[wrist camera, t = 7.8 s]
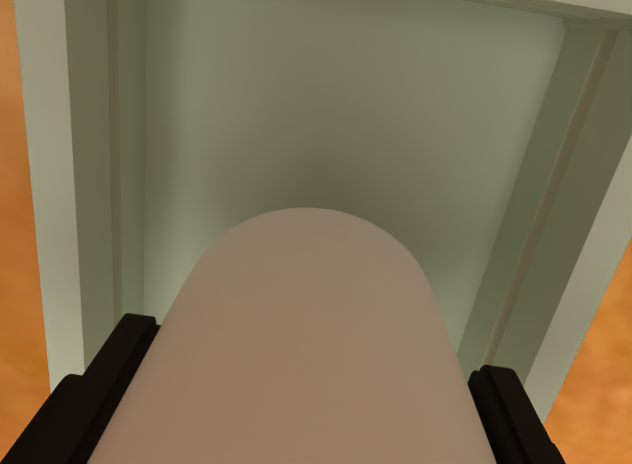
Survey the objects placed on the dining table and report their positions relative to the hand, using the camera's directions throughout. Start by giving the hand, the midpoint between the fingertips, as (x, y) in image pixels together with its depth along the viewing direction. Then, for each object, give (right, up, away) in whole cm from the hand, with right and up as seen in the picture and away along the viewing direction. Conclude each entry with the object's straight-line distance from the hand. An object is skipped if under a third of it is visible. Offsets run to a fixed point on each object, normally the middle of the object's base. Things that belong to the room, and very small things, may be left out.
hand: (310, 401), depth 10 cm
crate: (0, +4, +8) cm, 8 cm away
